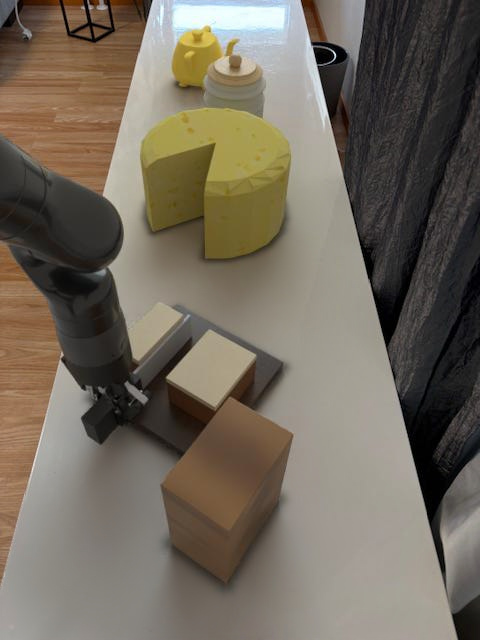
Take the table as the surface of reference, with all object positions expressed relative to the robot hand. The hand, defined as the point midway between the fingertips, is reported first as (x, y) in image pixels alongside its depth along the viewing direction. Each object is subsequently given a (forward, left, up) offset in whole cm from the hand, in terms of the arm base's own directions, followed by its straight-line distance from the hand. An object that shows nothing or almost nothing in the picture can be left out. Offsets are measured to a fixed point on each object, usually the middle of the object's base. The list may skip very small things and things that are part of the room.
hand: (116, 414), depth 76 cm
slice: (+11, +3, 0) cm, 11 cm away
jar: (+69, +27, -2) cm, 74 cm away
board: (+11, -4, -2) cm, 12 cm away
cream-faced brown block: (+11, -8, 0) cm, 14 cm away
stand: (-3, -20, -2) cm, 21 cm away
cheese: (+45, +15, -2) cm, 47 cm away
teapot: (+84, +45, -2) cm, 95 cm away
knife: (+6, 0, 0) cm, 6 cm away
